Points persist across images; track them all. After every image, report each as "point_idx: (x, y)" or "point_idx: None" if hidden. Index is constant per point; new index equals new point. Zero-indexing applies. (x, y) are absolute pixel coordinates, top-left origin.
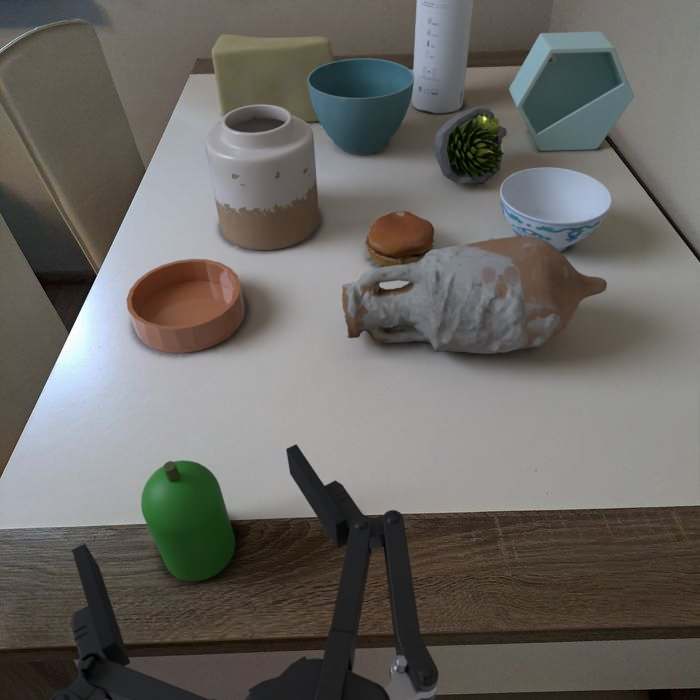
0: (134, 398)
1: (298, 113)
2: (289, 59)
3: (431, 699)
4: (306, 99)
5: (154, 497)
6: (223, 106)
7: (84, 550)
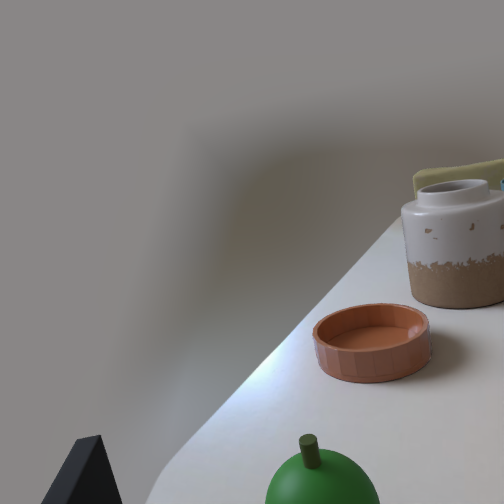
0: (302, 416)
1: None
2: (481, 176)
3: None
4: None
5: (281, 486)
6: None
7: (91, 443)
